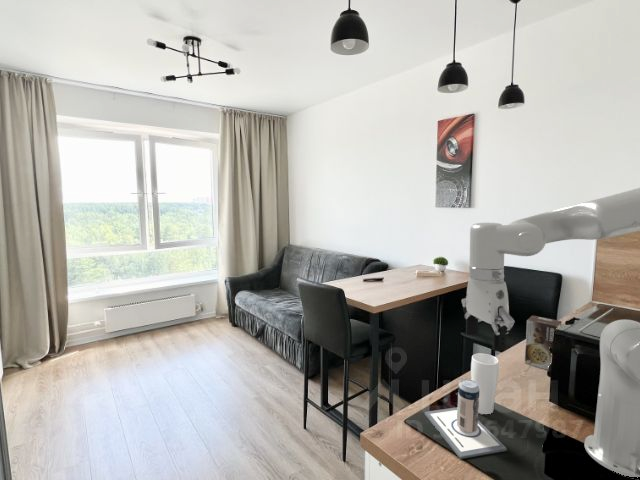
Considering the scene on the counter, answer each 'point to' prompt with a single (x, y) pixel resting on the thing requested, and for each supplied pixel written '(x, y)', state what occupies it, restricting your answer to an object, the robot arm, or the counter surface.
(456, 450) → the tablet
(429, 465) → the counter surface
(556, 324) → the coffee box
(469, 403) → the beer can
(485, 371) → the drinking glass
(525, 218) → the robot arm
